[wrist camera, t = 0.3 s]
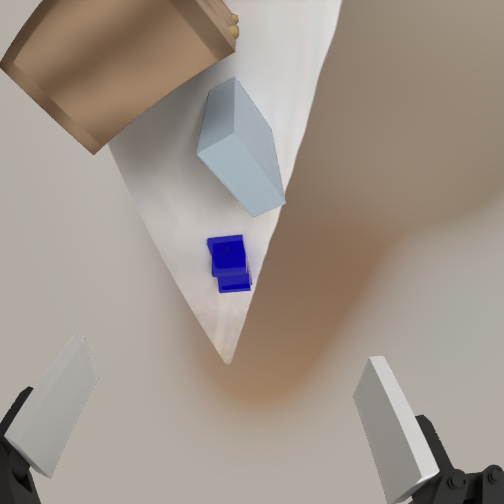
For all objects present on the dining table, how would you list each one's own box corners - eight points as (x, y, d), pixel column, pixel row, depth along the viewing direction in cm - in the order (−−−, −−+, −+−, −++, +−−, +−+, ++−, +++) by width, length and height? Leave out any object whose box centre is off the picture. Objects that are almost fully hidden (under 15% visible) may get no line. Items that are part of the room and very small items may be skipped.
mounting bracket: (251, 278, 73) (252, 299, 70) (223, 281, 74) (223, 302, 70) (242, 233, 59) (243, 257, 55) (207, 236, 59) (206, 260, 56)
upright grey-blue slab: (204, 93, 34) (189, 158, 25) (234, 76, 33) (234, 132, 23) (243, 143, 41) (246, 220, 32) (271, 129, 40) (285, 203, 30)
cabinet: (98, 16, 22) (-2, 65, 10) (185, -49, 17) (129, -80, 5) (152, 73, 31) (93, 155, 19) (239, 17, 26) (242, 47, 14)
